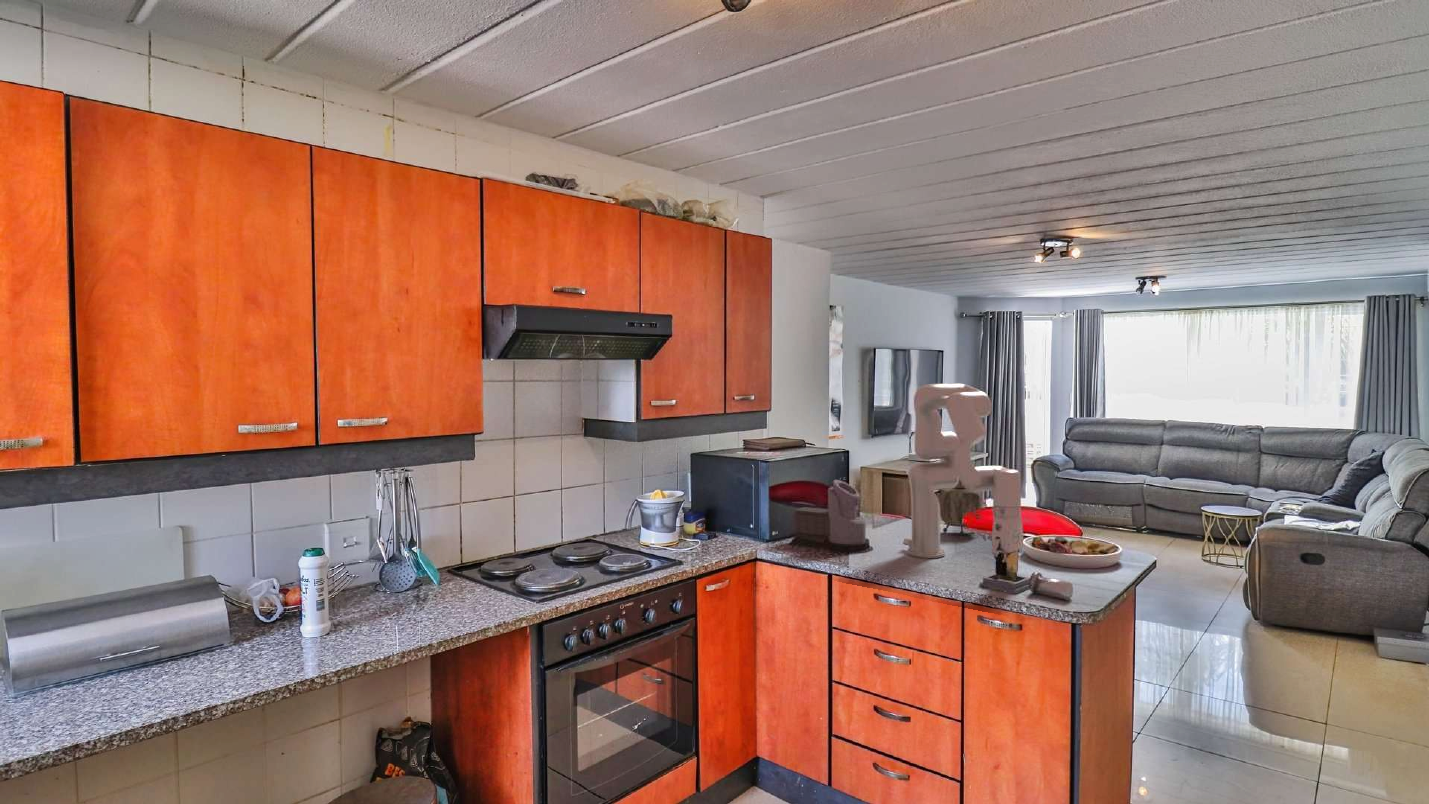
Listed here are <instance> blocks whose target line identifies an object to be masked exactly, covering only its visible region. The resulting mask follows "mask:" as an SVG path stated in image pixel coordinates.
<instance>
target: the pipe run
mask: <svg viewBox="0 0 1429 804" xmlns="http://www.w3.org/2000/svg"><path fill="white" fill-rule="evenodd" d="M1029 578H1030V581H1029V588H1030V589H1029V591H1030V593H1034V594H1038V595H1043V596H1047V597H1050V598H1051V597H1052V598H1055V597H1056V598H1057V599H1059V600H1060V599H1061V600H1065V601H1070V600H1071V599H1072V597H1073V593H1074V587H1073V583H1072V582H1068V581H1064V580H1058V579H1054V578H1050V577H1044V576H1043V575H1042V573H1041V572H1036V571H1034V572H1032V573H1031V575H1030V577H1029Z"/></svg>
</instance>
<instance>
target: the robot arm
mask: <svg viewBox="0 0 1429 804" xmlns="http://www.w3.org/2000/svg"><path fill="white" fill-rule="evenodd" d="M992 406H993V405H992V401H991V398H990V396H989V395H988V394H986V393H985V392H984V391H982V390H979V388H975V387H972V386H970V385H968V384H964V383H930V384H929V383H928V384H924V385H922V386H919V388H917V390H916V391H915V393H914V396H913V408H914V414H915V431H914V433H915V434H914V452H915V456H916V457H917V458H918V459H920V460H921V459H922V460H940V461H938V462H934V461H932V462H920V463H916V464H913V466H911V467H910V469H909V470H908V473H907V474H908V475H907V476H908V481H909V482H908V483H909V487H910V495H911V496H910V497H911V499H910V501H911V538H907V537H905V538H904V540H903V541H902V544H903V546H904V545H905V546H908V548H907V549H906V553H907V555H909V556H910V557H916V558H922V559H937V558H943V557H944V556H946V551H945V550H944V549H942V548H941V516H940V502H939V501H940V498H938V496H937V494H936V493H935V491H939V490H941V491H942V489H952V488H954V487H956V486H957V484H958V482H959V478H960V480H961V482H962V484H963V486H964V487H965V488H966V489H967V490H969V491H972V492H979V493H980V492H987V491H989V492H992V502H993V503H992V516H993V522H992V533H991V534H992V535H991V545H992V549H991V553H992V555H993V557H994V561H995V573H996V574H997V575H1002V576H1007V562H1005V561H1006V555H1007V553H1011V552H1014V551H1017V573H1018V572H1019V571H1018V570H1019V557H1020V556H1019V555H1020V554H1019V553H1020V550H1022V549H1023V540H1024V531H1023V529H1024V528H1023V521H1022V513H1021V512H1022V511H1021V510H1022V507H1021V506H1022V503H1021V502H1022V501H1021V500H1022V497H1021V496H1022V494H1021V493H1022V490H1021V489H1022V488H1021V487H1022V485H1021V484H1022V479H1021V478H1022V477H1021V475H1022V474H1021V473H1020V471H1019V470H1016V469H1013V468H1012V469H1011V468H1006V467H1004V466H1002V465H976V466H974V464H973V461H972V459H971V454H970V449H971V448H972V447H973V446H975V445H977V444H979V443H980V442H982V441H983V440H984V439H985V438H987V437H986V436H987V430H986V429H985V428H986V427H985V426H984V423H983V420H982V418H986V417H988V416H989V415H990V414H991V412H992V408H993V407H992ZM938 410H946V412H947V413H948V416H949V419H950V421H951V424H952V426H953V428H954V431H955V432H954V431H951V430H943V431H942V423H943V422H942V421H943V420H942V418H941V415H940V413H939V411H938ZM1001 549H1003V551H1000V550H1001ZM999 553H1003V556H1002V555H1001V554H999ZM942 556H943V557H942Z"/></svg>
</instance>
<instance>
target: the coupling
mask: <svg viewBox="0 0 1429 804" xmlns="http://www.w3.org/2000/svg"><path fill="white" fill-rule="evenodd" d="M1000 551H1003V549H1001V550H1000ZM999 554H1001V555H1002V556H1003V553H999ZM1005 562H1007V576H1002V575H997V578H999V579H1002V580H1016V579H1017V575H1018V572H1017V551H1014V552H1011V553H1007V555H1006V561H1005Z"/></svg>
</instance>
